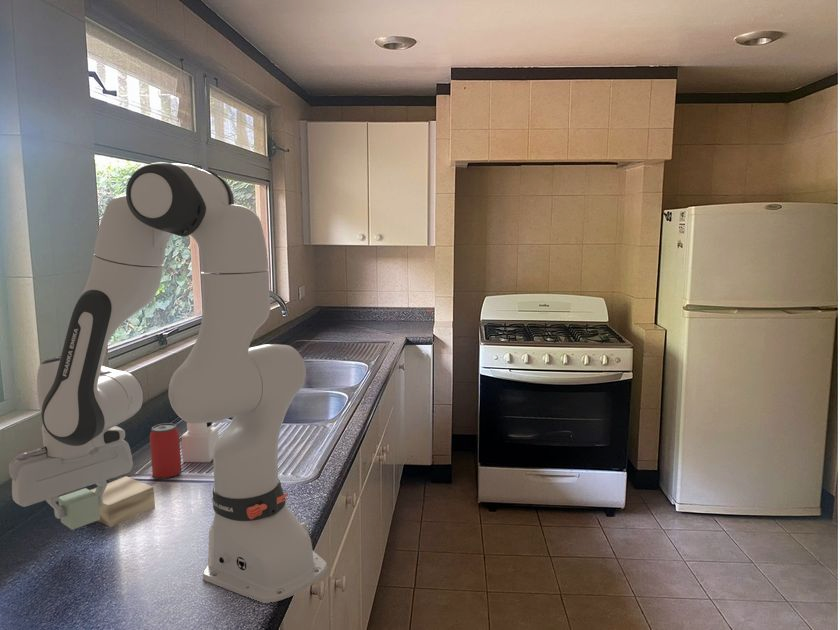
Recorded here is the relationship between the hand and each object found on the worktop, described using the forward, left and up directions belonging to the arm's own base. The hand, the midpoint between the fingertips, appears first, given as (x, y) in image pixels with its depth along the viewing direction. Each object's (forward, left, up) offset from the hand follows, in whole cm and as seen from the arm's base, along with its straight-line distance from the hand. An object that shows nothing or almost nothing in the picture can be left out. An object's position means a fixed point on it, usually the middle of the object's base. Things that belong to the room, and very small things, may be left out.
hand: (79, 510), depth 116 cm
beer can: (+19, -27, -8) cm, 34 cm away
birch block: (+9, -11, -8) cm, 16 cm away
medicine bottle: (+22, -38, -8) cm, 44 cm away
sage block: (0, 0, -2) cm, 2 cm away
